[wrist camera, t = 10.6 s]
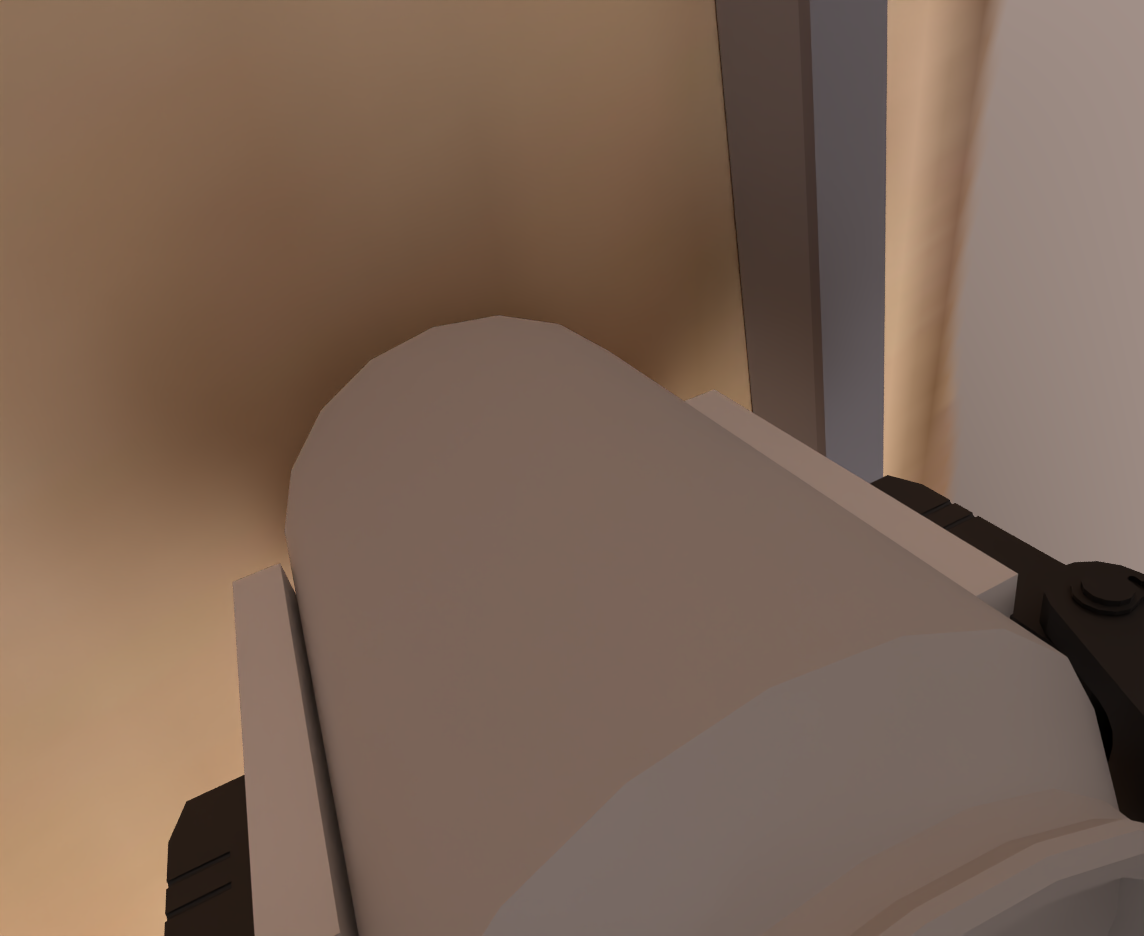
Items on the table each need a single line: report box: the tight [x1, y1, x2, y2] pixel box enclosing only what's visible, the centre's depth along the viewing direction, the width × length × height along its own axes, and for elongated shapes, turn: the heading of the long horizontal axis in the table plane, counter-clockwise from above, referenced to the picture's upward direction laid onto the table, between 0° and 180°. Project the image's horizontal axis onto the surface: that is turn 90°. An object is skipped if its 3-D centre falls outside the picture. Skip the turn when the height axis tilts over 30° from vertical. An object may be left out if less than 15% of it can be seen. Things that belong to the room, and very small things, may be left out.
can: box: [285, 315, 1144, 936], centre depth 11 cm, size 8×8×12 cm
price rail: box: [716, 0, 887, 484], centre depth 19 cm, size 27×2×3 cm, turn 12°
